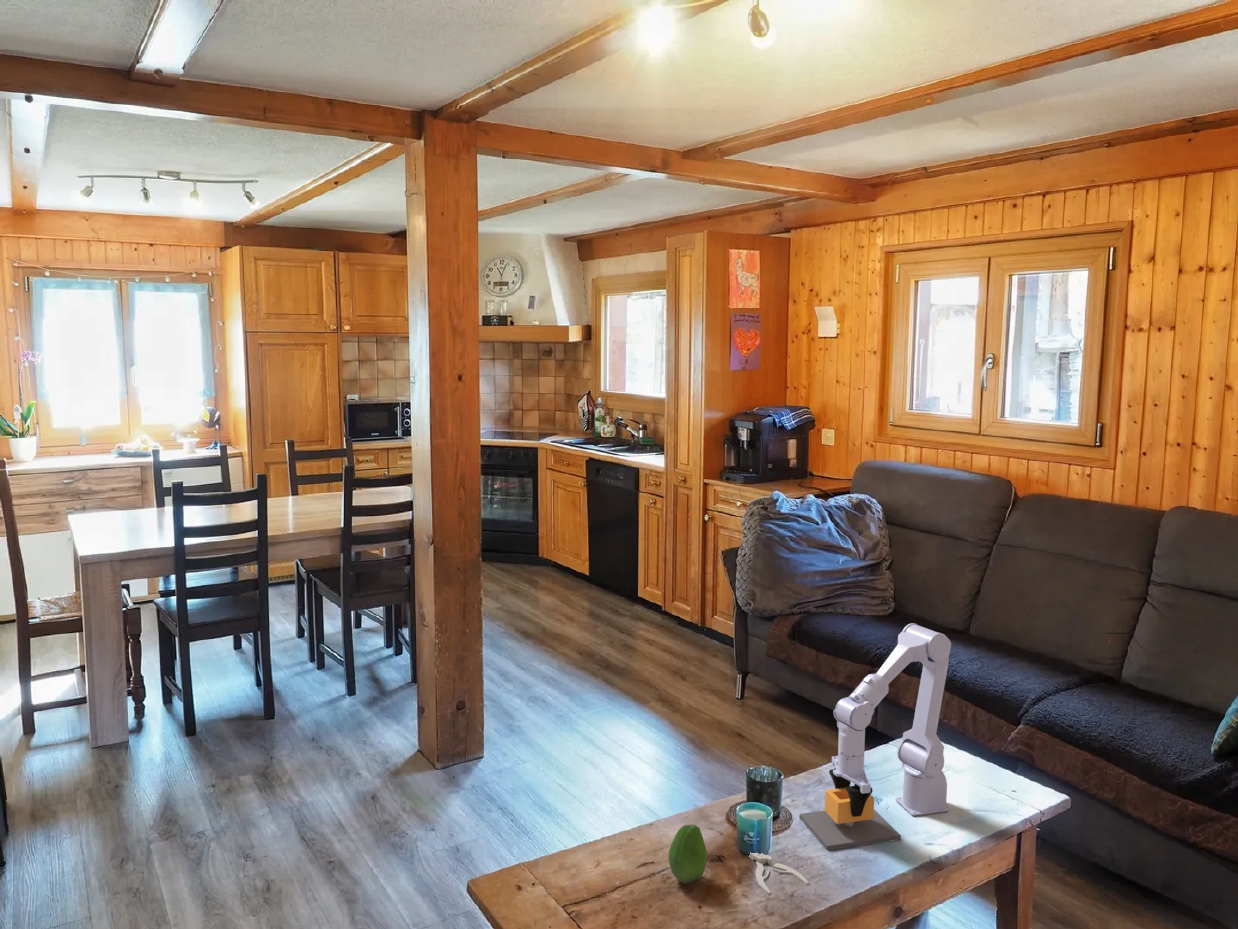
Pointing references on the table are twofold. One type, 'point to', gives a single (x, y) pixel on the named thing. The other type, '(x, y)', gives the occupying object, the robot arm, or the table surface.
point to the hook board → (848, 830)
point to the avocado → (688, 854)
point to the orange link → (845, 806)
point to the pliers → (766, 858)
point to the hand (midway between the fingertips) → (849, 808)
